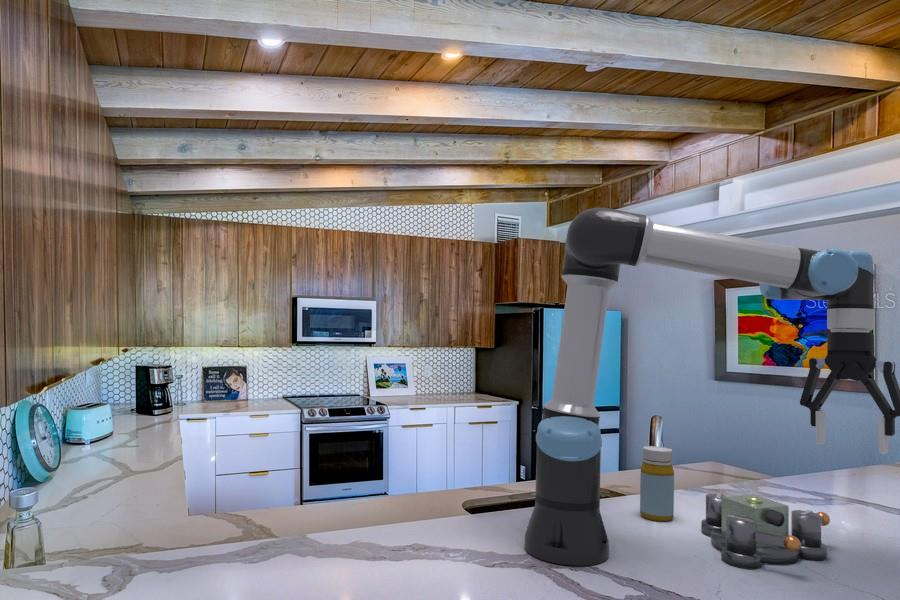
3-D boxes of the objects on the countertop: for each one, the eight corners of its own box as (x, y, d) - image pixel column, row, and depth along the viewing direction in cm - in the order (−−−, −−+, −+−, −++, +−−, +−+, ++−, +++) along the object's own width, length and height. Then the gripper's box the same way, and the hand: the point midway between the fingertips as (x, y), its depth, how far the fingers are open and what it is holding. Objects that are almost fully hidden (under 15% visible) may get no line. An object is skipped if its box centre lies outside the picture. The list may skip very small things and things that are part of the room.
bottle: (676, 523, 126) (676, 452, 127) (641, 520, 127) (643, 450, 128) (670, 514, 133) (671, 447, 134) (638, 511, 134) (639, 444, 135)
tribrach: (741, 570, 101) (741, 513, 101) (663, 532, 120) (664, 484, 120) (834, 559, 108) (834, 505, 109) (747, 525, 127) (747, 479, 127)
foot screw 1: (731, 528, 117) (731, 500, 117) (705, 524, 119) (705, 496, 119) (731, 513, 128) (731, 487, 128) (707, 509, 130) (707, 484, 130)
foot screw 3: (815, 548, 107) (815, 517, 107) (787, 541, 110) (787, 511, 111) (838, 536, 114) (838, 507, 114) (811, 529, 118) (811, 501, 118)
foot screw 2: (722, 549, 105) (723, 517, 105) (730, 542, 108) (730, 512, 109) (797, 567, 97) (797, 533, 97) (803, 560, 101) (803, 527, 101)
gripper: (928, 333, 107) (930, 456, 106) (795, 331, 125) (795, 437, 123) (917, 331, 103) (918, 461, 101) (780, 330, 120) (780, 440, 119)
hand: (851, 448), depth 112 cm, fingers open, 10 cm apart
